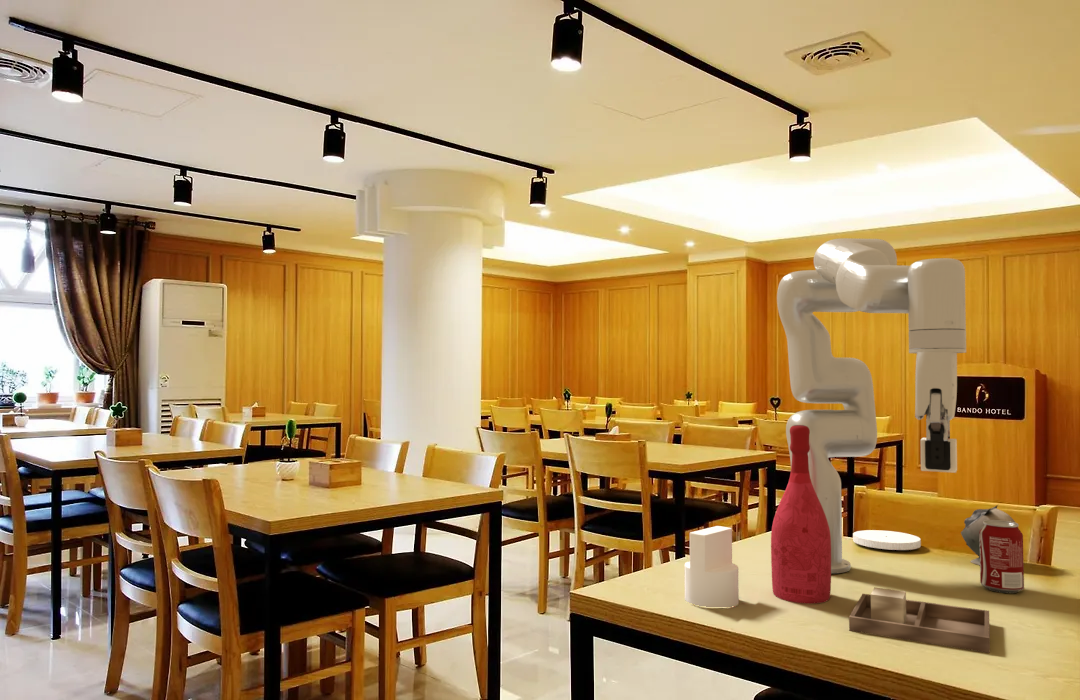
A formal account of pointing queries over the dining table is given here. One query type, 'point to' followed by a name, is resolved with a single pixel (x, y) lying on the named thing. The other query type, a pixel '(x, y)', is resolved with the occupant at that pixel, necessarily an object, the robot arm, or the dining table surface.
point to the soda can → (1001, 556)
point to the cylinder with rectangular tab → (711, 569)
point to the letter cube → (952, 456)
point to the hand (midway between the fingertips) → (938, 466)
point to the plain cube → (888, 605)
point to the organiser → (928, 624)
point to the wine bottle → (800, 534)
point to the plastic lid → (887, 540)
